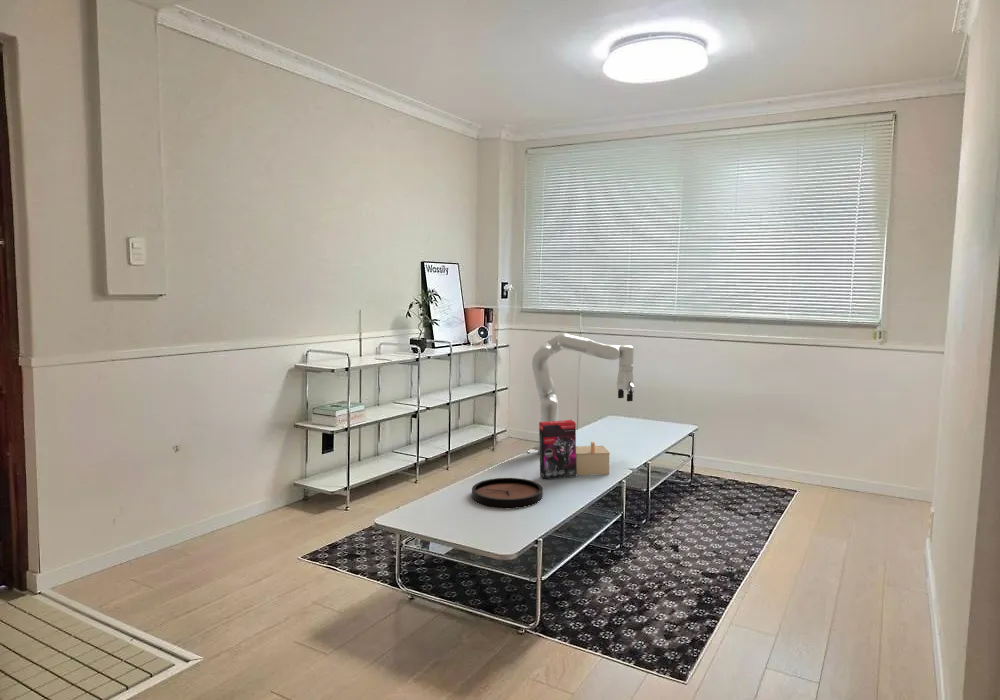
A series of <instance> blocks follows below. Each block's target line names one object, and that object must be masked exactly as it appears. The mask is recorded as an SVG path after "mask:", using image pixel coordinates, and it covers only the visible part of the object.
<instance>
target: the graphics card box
mask: <svg viewBox="0 0 1000 700" xmlns="http://www.w3.org/2000/svg"><path fill="white" fill-rule="evenodd" d="M576 424H577V423H576V422H575V421H574V420H572V419H566V420H558V421H548V422H541V421H539V424H538V427H539V429H538V430H539V431H538V433H539V436H538V437H539V445H540V454H539V475H540V476H539V477H540V478H542V480H544V481H546V480H554V479H564V478H575V477H577V474H576V445H577V444H576V441H577V440H576V439H577V438H576V435H577V433H576V431H577V430H576Z"/></svg>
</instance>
